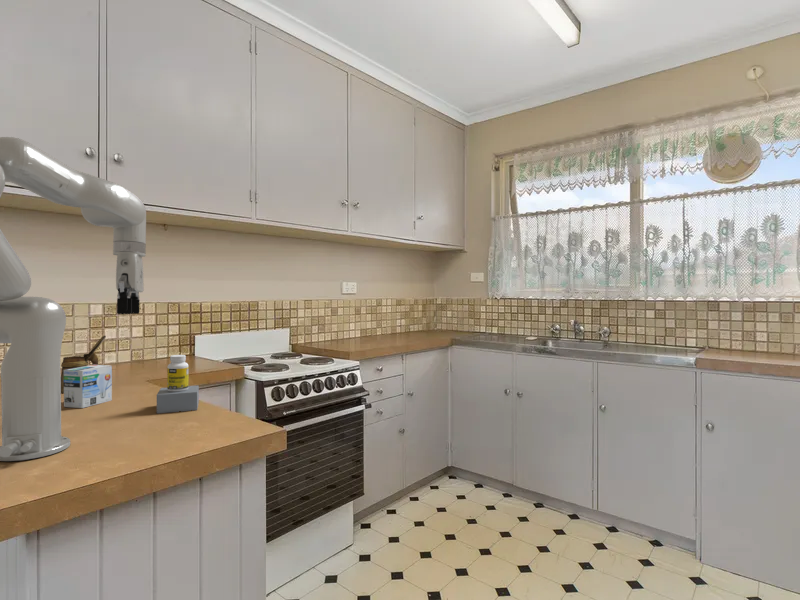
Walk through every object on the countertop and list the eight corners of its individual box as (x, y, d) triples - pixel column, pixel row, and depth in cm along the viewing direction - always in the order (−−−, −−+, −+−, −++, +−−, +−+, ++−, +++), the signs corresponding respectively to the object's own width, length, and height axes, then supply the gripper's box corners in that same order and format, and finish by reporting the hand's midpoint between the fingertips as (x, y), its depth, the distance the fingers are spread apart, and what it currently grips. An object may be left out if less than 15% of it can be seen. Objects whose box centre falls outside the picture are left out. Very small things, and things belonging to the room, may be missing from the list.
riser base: (197, 410, 128) (197, 392, 128) (156, 413, 124) (156, 395, 124) (198, 402, 137) (198, 385, 137) (161, 405, 133) (160, 387, 133)
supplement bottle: (165, 392, 127) (165, 357, 127) (169, 388, 132) (169, 354, 132) (186, 391, 128) (186, 356, 128) (190, 387, 134) (189, 354, 133)
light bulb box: (82, 408, 129) (82, 370, 129) (62, 407, 131) (62, 369, 131) (113, 400, 140) (112, 364, 140) (94, 399, 141) (94, 364, 141)
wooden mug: (107, 389, 156) (107, 336, 155) (58, 394, 148) (57, 338, 147) (105, 385, 163) (104, 334, 163) (57, 389, 155) (57, 336, 154)
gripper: (138, 246, 116) (137, 314, 116) (151, 254, 133) (150, 313, 132) (104, 245, 114) (103, 314, 114) (121, 253, 130) (120, 313, 130)
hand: (128, 313), depth 123 cm, fingers open, 9 cm apart
